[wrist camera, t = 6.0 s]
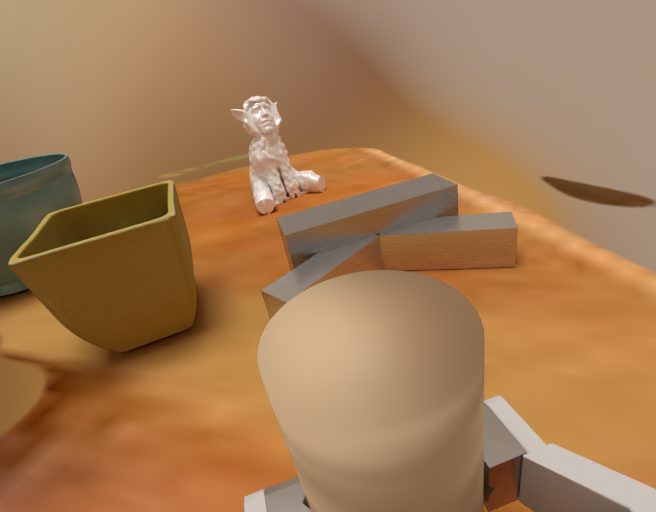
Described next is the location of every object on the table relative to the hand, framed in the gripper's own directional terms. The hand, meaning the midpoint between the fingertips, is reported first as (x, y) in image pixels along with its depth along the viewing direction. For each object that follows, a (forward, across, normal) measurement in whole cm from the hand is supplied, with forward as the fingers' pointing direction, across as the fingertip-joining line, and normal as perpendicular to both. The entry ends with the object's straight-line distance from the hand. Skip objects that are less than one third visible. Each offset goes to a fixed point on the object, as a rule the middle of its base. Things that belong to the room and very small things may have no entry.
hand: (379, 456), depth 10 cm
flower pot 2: (+20, +10, +6) cm, 23 cm away
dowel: (-1, 0, +6) cm, 6 cm away
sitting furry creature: (+41, -3, +6) cm, 42 cm away
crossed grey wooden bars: (+17, -7, +6) cm, 20 cm away
